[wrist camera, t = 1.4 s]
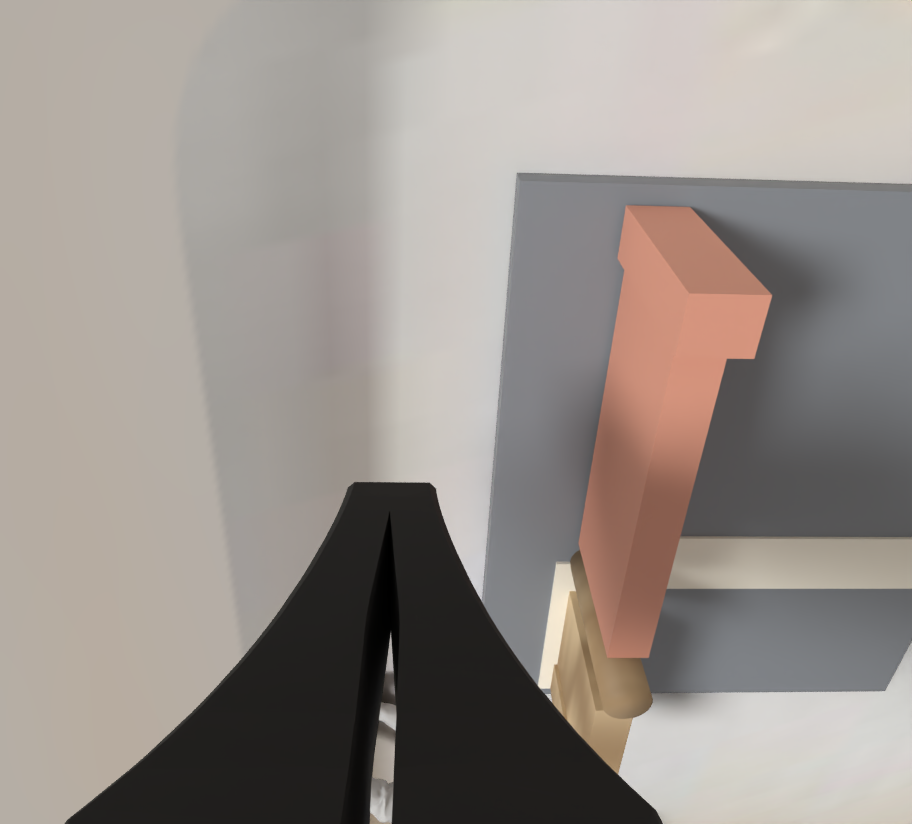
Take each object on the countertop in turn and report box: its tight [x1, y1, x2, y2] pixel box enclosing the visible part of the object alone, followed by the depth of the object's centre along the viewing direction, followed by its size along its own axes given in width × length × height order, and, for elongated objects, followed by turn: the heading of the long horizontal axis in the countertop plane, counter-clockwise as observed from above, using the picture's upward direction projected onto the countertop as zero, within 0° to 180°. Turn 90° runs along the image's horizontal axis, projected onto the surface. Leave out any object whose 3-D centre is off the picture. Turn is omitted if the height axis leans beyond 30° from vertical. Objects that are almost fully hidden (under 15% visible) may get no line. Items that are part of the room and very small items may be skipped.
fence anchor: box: [550, 550, 653, 774], centre depth 22 cm, size 6×1×5 cm, turn 178°
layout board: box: [482, 173, 912, 694], centre depth 21 cm, size 17×14×1 cm
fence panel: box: [578, 205, 772, 658], centre depth 17 cm, size 10×1×5 cm, turn 178°
